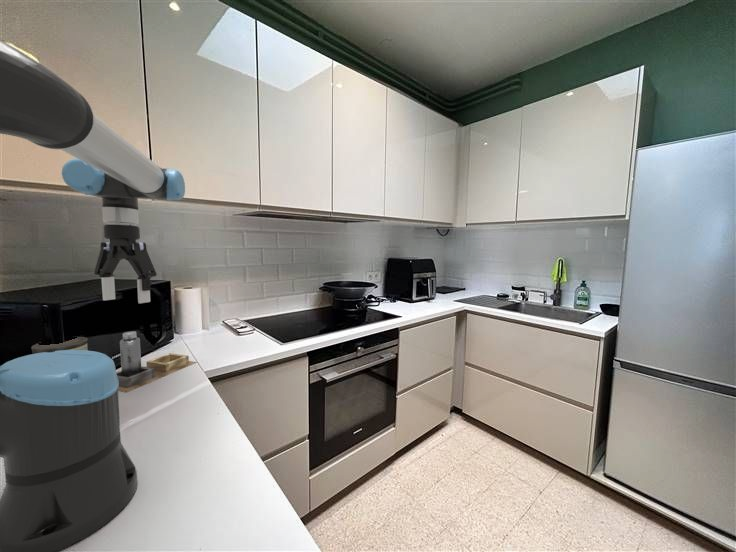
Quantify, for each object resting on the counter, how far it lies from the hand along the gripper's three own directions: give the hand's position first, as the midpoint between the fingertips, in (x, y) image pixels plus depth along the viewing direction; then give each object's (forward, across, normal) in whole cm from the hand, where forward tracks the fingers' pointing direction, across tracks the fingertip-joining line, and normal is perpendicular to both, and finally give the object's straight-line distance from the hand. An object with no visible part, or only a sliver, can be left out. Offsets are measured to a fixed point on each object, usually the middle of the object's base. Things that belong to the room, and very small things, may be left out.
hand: (126, 301), depth 81 cm
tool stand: (+25, 0, -6) cm, 25 cm away
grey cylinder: (+23, 0, 0) cm, 23 cm away
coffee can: (+25, +13, +8) cm, 29 cm away
